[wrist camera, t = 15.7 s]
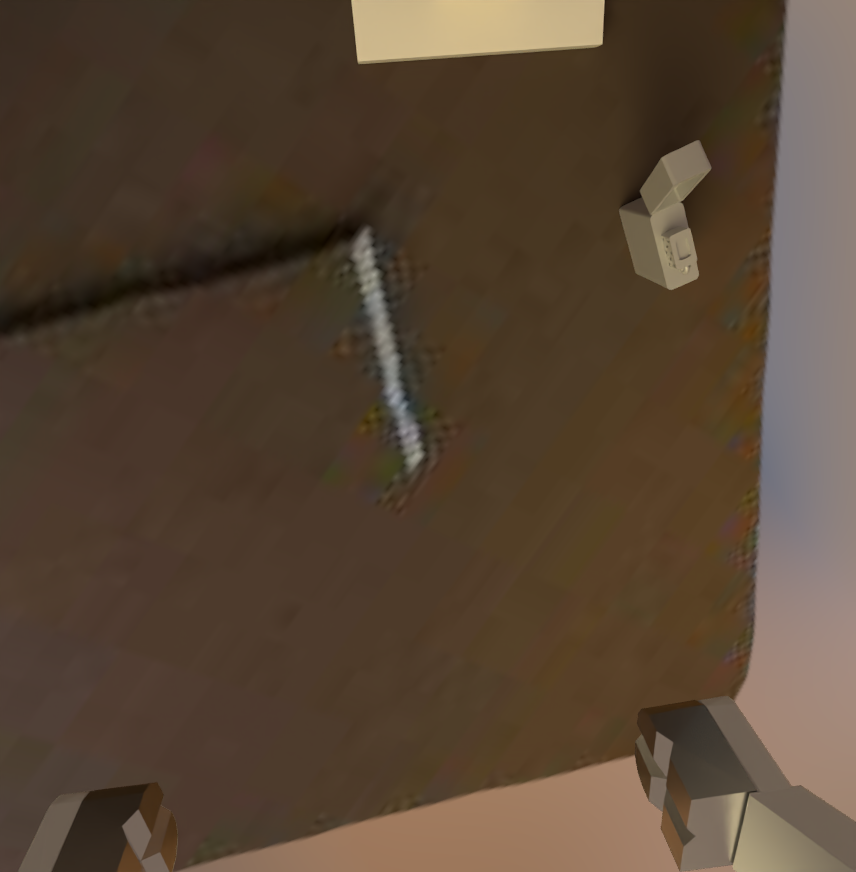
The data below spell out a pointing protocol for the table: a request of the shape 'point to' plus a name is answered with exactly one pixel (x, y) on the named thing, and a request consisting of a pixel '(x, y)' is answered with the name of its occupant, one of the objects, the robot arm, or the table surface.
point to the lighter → (665, 219)
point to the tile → (472, 27)
